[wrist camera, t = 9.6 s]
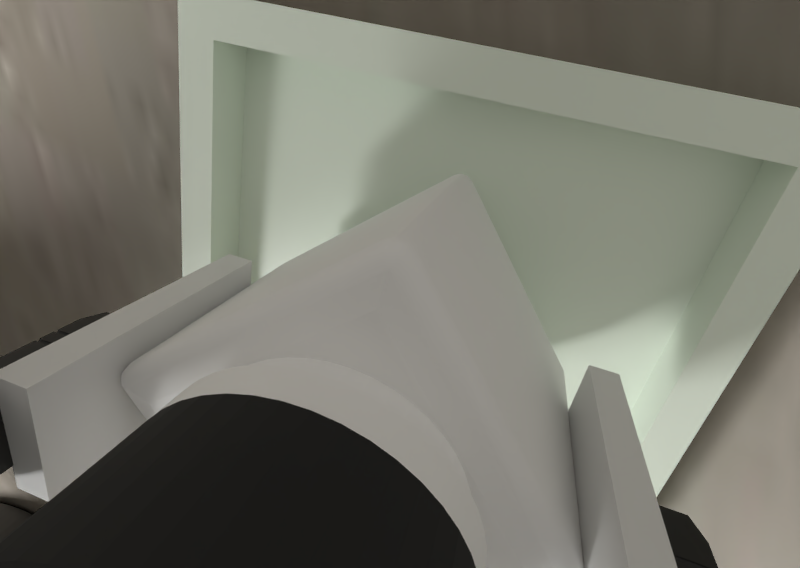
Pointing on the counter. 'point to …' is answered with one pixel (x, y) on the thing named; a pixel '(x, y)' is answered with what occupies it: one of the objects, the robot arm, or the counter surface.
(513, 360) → the medicine bottle
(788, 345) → the counter surface
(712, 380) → the tray
